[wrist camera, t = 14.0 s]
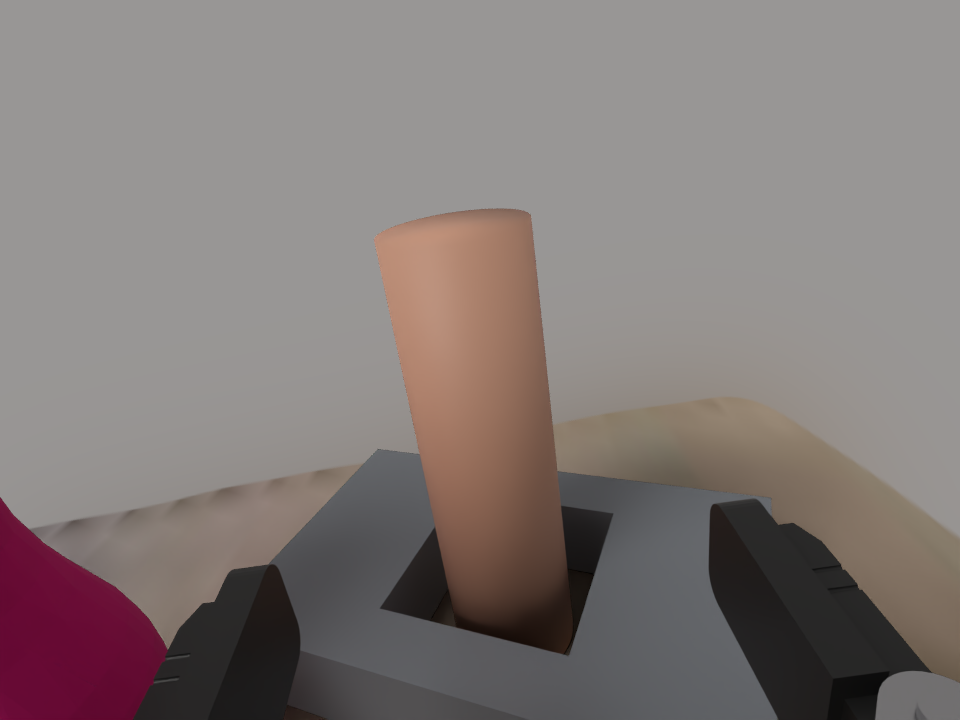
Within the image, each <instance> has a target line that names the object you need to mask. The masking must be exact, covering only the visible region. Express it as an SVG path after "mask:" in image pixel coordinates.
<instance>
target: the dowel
mask: <svg viewBox="0 0 960 720" xmlns="http://www.w3.org/2000/svg"><path fill="white" fill-rule="evenodd" d="M374 241H375V246H376V251H377V256H378V260H379V265H380V270H381V274H382V279H383V284H384V288H385V293H386V298H387V303H388V307H389V312H390V317H391V321H392V326H393V331H394V335H395V340H396V344H397V350H398V354H399V358H400V364H401V368H402V372H403V378H404V382H405V387H406V391H407V396H408V401H409V405H410V410H411V415H412V420H413V425H414V429H415V434H416V439H417V443H418V448H419V453H420V458H421V462H422V467H423V472H424V476H425V481H426V486H427V491H428V495H429V500H430V505H431V509H432V514H433V519H434V523H435V528H436V533H437V538H438V542H439V547H440V552H441V556H442V561H443V566H444V570H445V575H446V580H447V584H448V589H449V594H450V599H451V603H452V608H453V613H454V617H455V622H456V627H457V628H459V629H463V630H467V631H471V632H475V633H479V634H483V635H487V636H491V637H495V638H499V639H503V640H507V641H511V642H515V643H519V644H523V645H527V646H531V647H535V648H539V649H543V650H547V651H551V652H555V653H559V654H564V652H565V651H566V649H567V648H568V646H569V644H570V641H571V638H572V634H573V618H572V608H571V599H570V589H569V579H568V570H567V560H566V550H565V541H564V531H563V521H562V512H561V502H560V492H559V483H558V473H557V463H556V454H555V444H554V434H553V425H552V416H551V405H550V396H549V387H548V377H547V367H546V357H545V347H544V338H543V328H542V318H541V309H540V300H539V290H538V280H537V271H536V260H535V251H534V242H533V232H532V222H531V215H530V214H529V213H528V212H525V211H521V210H515V209H479V210H468V211H460V212H452V213H446V214H440V215H435V216H430V217H426V218H422V219H417V220H414V221H410V222H406V223H403V224H400V225H397V226H394V227H391V228H389V229H387V230H385V231H383V232H381V233H380V234H378V235H377V236H376V237H375V239H374Z"/></svg>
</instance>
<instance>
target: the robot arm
mask: <svg viewBox="0 0 960 720" xmlns="http://www.w3.org/2000/svg"><path fill="white" fill-rule="evenodd" d="M709 577H710V583H711V587H712V590H713V593H714V596H715V599H716V601H717V604H718V606H719V608H720V609H721V611H722V613H723V615H724V617H725V619H726V621H727V623H728V625H729V627H730V628H731V630H732V632H733V634H734V636H735V638H736V640H737V642H738V644H739V645H740V647H741V649H742V651H743V653H744V655H745V657H746V659H747V661H748V663H749V664H750V666H751V668H752V670H753V672H754V674H755V676H756V678H757V680H758V682H759V683H760V685H761V687H762V689H763V691H764V693H765V695H766V697H767V699H768V701H769V702H770V704H771V706H772V708H773V710H774V712H775V714H776V716H777V718H778V719H779V720H960V683H958V682H956V681H954V680H952V679H949V678H947V677H944V676H941V675H937V674H934V673H932V672H931V671H930V670H929V669H928V668H927V667H926V666H925V665H924V663H923V662H922V661H921V660H920V659H919V657H918V656H917V655H916V654H915V653H914V651H913V650H912V649H911V648H910V647H909V645H908V644H907V643H906V642H905V641H904V639H903V638H902V637H901V636H900V635H899V633H898V632H897V631H896V630H895V629H894V627H893V626H892V625H891V624H890V623H889V621H888V620H887V619H886V618H885V617H884V615H883V614H882V613H881V612H880V611H879V610H878V608H877V607H876V606H875V605H874V604H873V602H872V601H871V600H870V599H869V598H868V596H867V595H866V594H865V593H864V592H863V590H859V588H858V584H857V583H856V582H855V581H854V580H853V578H852V577H851V576H850V575H849V574H848V572H847V571H846V570H843V569H842V567H841V564H840V563H839V562H838V560H837V559H836V558H835V557H834V556H833V554H832V553H831V552H830V551H829V550H828V548H827V547H826V546H825V545H824V544H823V542H822V541H820V540H819V539H817V538H816V537H814V536H813V535H811V534H809V533H808V532H806V531H805V530H803V529H802V528H800V527H799V526H797V525H795V524H794V523H789V524H782V525H778V524H777V523H776V522H775V520H774V519H773V518H772V516H771V515H770V514H769V513H768V511H767V510H766V509H765V507H764V506H763V505H762V504H761V502H760V501H759V500H757V499H755V498H752V499H744V500H737V501H730V502H723V503H716V504H713V505H712V506H711V509H710V526H709ZM300 644H301V642H300V629H299V624H298V621H297V618H296V616H295V613H294V610H293V607H292V604H291V601H290V599H289V596H288V593H287V590H286V587H285V585H284V582H283V579H282V576H281V573H280V571H279V569H278V567H277V566H276V565H274V564H269V565H262V566H255V567H248V568H241V569H234V570H232V571H230V572H229V573H228V575H227V577H226V579H225V581H224V583H223V585H222V587H221V589H220V591H219V594H218V596H217V598H216V600H215V602H210V603H203V604H202V605H201V606H200V607H199V608H198V609H197V610H196V611H195V612H194V613H193V614H192V615H191V616H190V618H189V619H188V620H187V621H186V622H185V623H184V624H183V625H182V626H181V627H180V628H179V630H178V632H177V634H176V636H175V638H174V640H173V642H172V644H171V646H170V647H169V649H168V651H167V653H166V655H165V662H162V663H161V665H160V667H159V669H158V671H157V673H156V675H155V677H154V679H153V680H154V683H153V685H150V687H149V689H148V691H147V693H146V695H145V697H144V698H143V700H142V702H141V704H140V706H139V708H138V710H137V712H136V714H135V716H134V718H133V720H283V717H284V713H285V709H286V706H287V702H288V698H289V695H290V691H291V687H292V683H293V680H294V676H295V672H296V669H297V665H298V661H299V656H300Z"/></svg>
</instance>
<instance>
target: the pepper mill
mask: <svg viewBox="0 0 960 720" xmlns="http://www.w3.org/2000/svg"><path fill="white" fill-rule="evenodd" d="M167 651H168V650H167V648H166V646H165V643H164V641H163V640H162V638H161V637H160V635H159V634H158V632H157V630H156V629H155V627H154V626H153V624H152V623H151V621H150V620H149V618H148V617H147V616H146V615H145V614H144V613H143V612H142V611H141V610H140V609H139V608H138V607H137V606H136V605H135V604H134V603H133V602H132V601H131V600H129V599H128V598H127V597H126V596H125V595H124V594H123V593H122V592H121V591H119V590H118V589H117V588H116V587H115V586H113V585H111V584H109V583H108V582H106V581H104V580H103V579H101V578H99V577H98V576H96V575H94V574H92V573H91V572H89V571H87V570H86V569H84V568H82V567H80V566H79V565H77V564H75V563H74V562H72V561H70V560H69V559H67V558H65V557H64V556H62V555H61V554H59V553H58V552H56V551H55V550H53V549H52V548H50V547H49V546H47V545H46V544H45V543H43V542H42V541H41V540H40V539H39V538H38V537H37V536H36V535H34V534H33V533H32V532H31V531H30V530H29V529H28V528H27V527H26V526H25V525H24V524H22V523H21V522H20V521H19V520H18V519H17V518H16V517H15V516H14V515H13V514H12V513H11V511H10V510H9V508H8V507H7V506H6V504H5V503H4V502H3V501H2V499H1V498H0V720H133V718H134V716H135V714H136V712H137V710H138V708H139V706H140V704H141V702H142V700H143V698H144V697H145V695H146V693H147V691H148V689H149V687H150V685H153V683H154V680H153V679H154V677H155V675H156V673H157V671H158V669H159V667H160V665H161V663H162V662H165V655H166V653H167Z"/></svg>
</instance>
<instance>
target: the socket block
mask: <svg viewBox="0 0 960 720" xmlns="http://www.w3.org/2000/svg"><path fill="white" fill-rule="evenodd" d="M557 473H558V483H559V492H560V502H561V512H562V521H563V531H564V541H565V550H566V560H567V569H572V570H578V571H583V572H588V573H593V574H595V575H594V578H593V581H592V584H591V587H590V591H589V594H588V597H587V600H586V603H585V607H584V610H583V613H582V616H581V619H580V623H579V626H578V629H577V632H576V635H575V639H574V642H573V645H572V648H571V651H570V655H569V656H567V655H563V654H559V653H555V652H551V651H547V650H543V649H539V648H535V647H531V646H527V645H523V644H519V643H515V642H511V641H507V640H503V639H499V638H495V637H491V636H487V635H483V634H479V633H475V632H471V631H467V630H463V629H459V628H455V627H451V626H447V625H443V624H439V623H435V622H431V621H430V619H431V617H432V616H433V614H434V612H435V610H436V609H437V607H438V605H439V604H440V602H441V600H442V598H443V597H444V595H445V593H446V591H447V590H448V584H447V580H446V575H445V570H444V566H443V561H442V556H441V552H440V547H439V542H438V538H437V533H436V528H435V523H434V519H433V514H432V509H431V505H430V500H429V495H428V491H427V486H426V481H425V476H424V472H423V467H422V462H421V458H420V454H413V453H405V452H397V451H389V450H381V449H378V450H377V451H376V452H375V453H374V454H373V455H372V456H371V457H370V458H369V459H368V460H367V461H366V462H365V463H364V464H363V465H362V466H361V467H360V468H359V470H358V471H357V472H356V473H355V474H354V475H353V476H352V477H351V478H350V479H349V480H348V481H347V482H346V483H345V484H344V485H343V486H342V487H341V488H340V490H339V491H338V492H337V493H336V494H335V495H334V496H333V497H332V498H331V499H330V500H329V501H328V502H327V503H326V504H325V505H324V506H323V507H322V508H321V509H320V511H319V512H318V513H317V514H316V515H315V516H314V517H313V518H312V519H311V520H310V521H309V522H308V523H307V524H306V525H305V526H304V527H303V528H302V529H301V531H300V532H299V533H298V534H297V535H296V536H295V537H294V538H293V539H292V540H291V541H290V542H289V543H288V544H287V545H286V546H285V547H284V548H283V549H282V550H281V552H280V553H279V554H278V555H277V556H276V557H275V558H274V559H273V560H272V561H271V562H270V563H269V564H274V565H276V566H277V567H278V569H279V571H280V573H281V576H282V579H283V582H284V585H285V587H286V590H287V593H288V596H289V599H290V601H291V604H292V607H293V610H294V613H295V616H296V618H297V621H298V624H299V629H300V642H301V644H300V656H299V661H298V665H297V669H296V672H295V676H294V680H293V683H292V687H291V691H290V695H289V698H288V702H287V705H289V706H292V707H295V708H298V709H300V710H303V711H306V712H309V713H312V714H315V715H317V716H320V717H323V718H326V719H329V720H777V716H776V714H775V712H774V710H773V708H772V706H771V704H770V702H769V701H768V699H767V697H766V695H765V693H764V691H763V689H762V687H761V685H760V683H759V682H758V680H757V678H756V676H755V674H754V672H753V670H752V668H751V666H750V664H749V663H748V661H747V659H746V657H745V655H744V653H743V651H742V649H741V647H740V645H739V644H738V642H737V640H736V638H735V636H734V634H733V632H732V630H731V628H730V627H729V625H728V623H727V621H726V619H725V617H724V615H723V613H722V611H721V609H720V608H719V606H718V604H717V601H716V599H715V596H714V593H713V590H712V587H711V583H710V577H709V526H710V509H711V506H712V505H713V504H716V503H723V502H730V501H737V500H744V499H752V498H755V499H757V500H759V501H760V502H761V504H762V505H763V506H764V507H765V509H766V510H767V511H768V513H769V514H770V515H771V516H772V513H771V498H768V497H760V496H752V495H744V494H736V493H727V492H719V491H711V490H703V489H695V488H687V487H679V486H671V485H663V484H655V483H647V482H639V481H631V480H623V479H615V478H607V477H599V476H590V475H582V474H574V473H566V472H558V471H557ZM269 564H268V565H269Z"/></svg>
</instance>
